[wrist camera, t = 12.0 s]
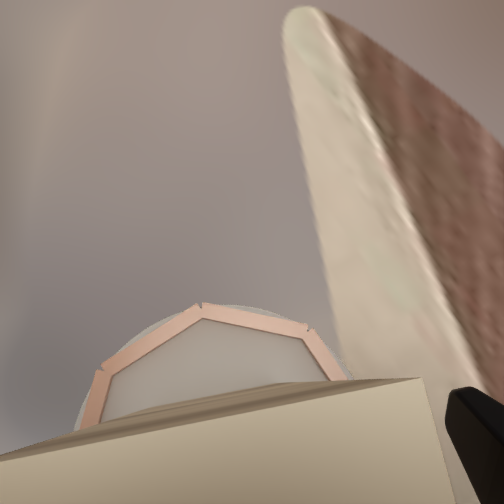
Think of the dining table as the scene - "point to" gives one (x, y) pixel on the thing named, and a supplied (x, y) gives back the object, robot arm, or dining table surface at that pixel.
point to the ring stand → (207, 360)
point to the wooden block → (247, 451)
